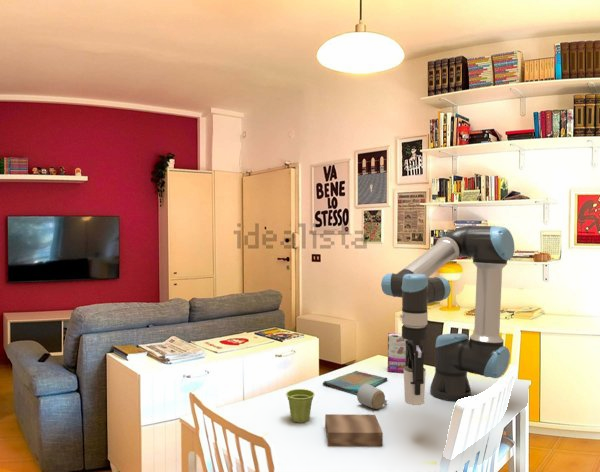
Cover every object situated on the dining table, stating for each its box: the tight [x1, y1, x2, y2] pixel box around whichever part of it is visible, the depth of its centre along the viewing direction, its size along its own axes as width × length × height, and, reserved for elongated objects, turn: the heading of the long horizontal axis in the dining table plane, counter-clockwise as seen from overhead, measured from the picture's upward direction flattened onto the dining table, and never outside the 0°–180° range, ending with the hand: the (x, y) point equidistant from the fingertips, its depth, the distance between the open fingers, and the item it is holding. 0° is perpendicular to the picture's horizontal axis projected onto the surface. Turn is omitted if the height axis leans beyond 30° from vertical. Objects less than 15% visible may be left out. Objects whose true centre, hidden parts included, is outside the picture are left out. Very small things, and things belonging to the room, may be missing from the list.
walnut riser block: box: [324, 413, 384, 447], centre depth 159 cm, size 16×14×4 cm
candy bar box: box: [387, 332, 406, 374], centre depth 227 cm, size 11×5×16 cm, turn 80°
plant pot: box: [285, 388, 315, 423], centre depth 171 cm, size 9×9×9 cm
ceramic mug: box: [356, 384, 388, 410], centre depth 185 cm, size 10×8×7 cm
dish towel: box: [322, 370, 388, 396], centre depth 210 cm, size 17×23×2 cm
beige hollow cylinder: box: [403, 366, 427, 406], centre depth 157 cm, size 7×7×10 cm
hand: (413, 400), depth 157 cm, fingers closed on beige hollow cylinder, 6 cm apart
